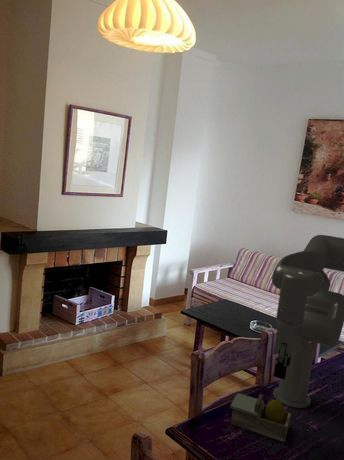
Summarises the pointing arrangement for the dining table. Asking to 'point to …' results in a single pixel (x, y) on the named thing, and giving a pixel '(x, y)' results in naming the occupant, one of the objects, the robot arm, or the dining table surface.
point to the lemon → (275, 411)
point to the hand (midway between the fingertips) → (281, 370)
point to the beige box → (262, 424)
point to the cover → (247, 404)
